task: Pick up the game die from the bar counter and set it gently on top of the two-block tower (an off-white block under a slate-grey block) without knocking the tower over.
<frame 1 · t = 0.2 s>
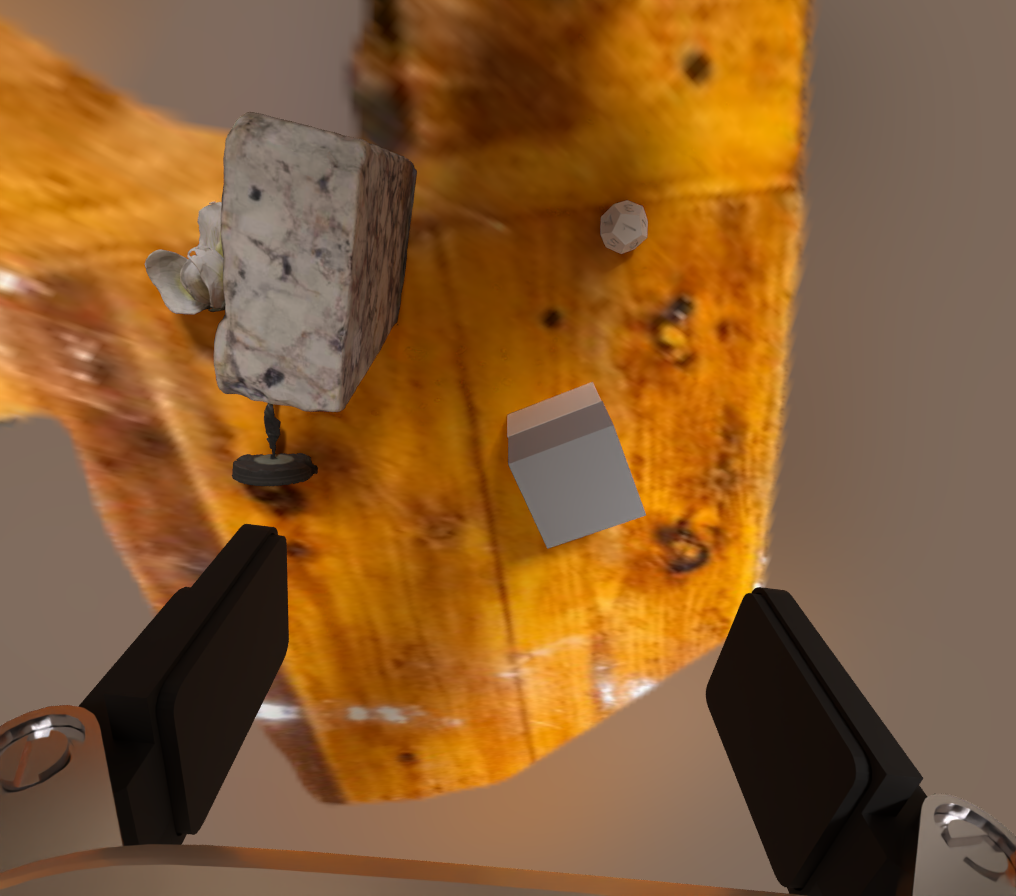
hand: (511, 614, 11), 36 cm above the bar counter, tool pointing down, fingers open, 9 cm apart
stone block: (377, 244, 42), on the bar counter
upper block: (571, 460, 45), point 5 cm above the bar counter, touching lower block
game die: (619, 226, 42), on the bar counter
lower block: (564, 436, 49), on the bar counter, touching upper block
artificial flower: (258, 341, 46), on the bar counter
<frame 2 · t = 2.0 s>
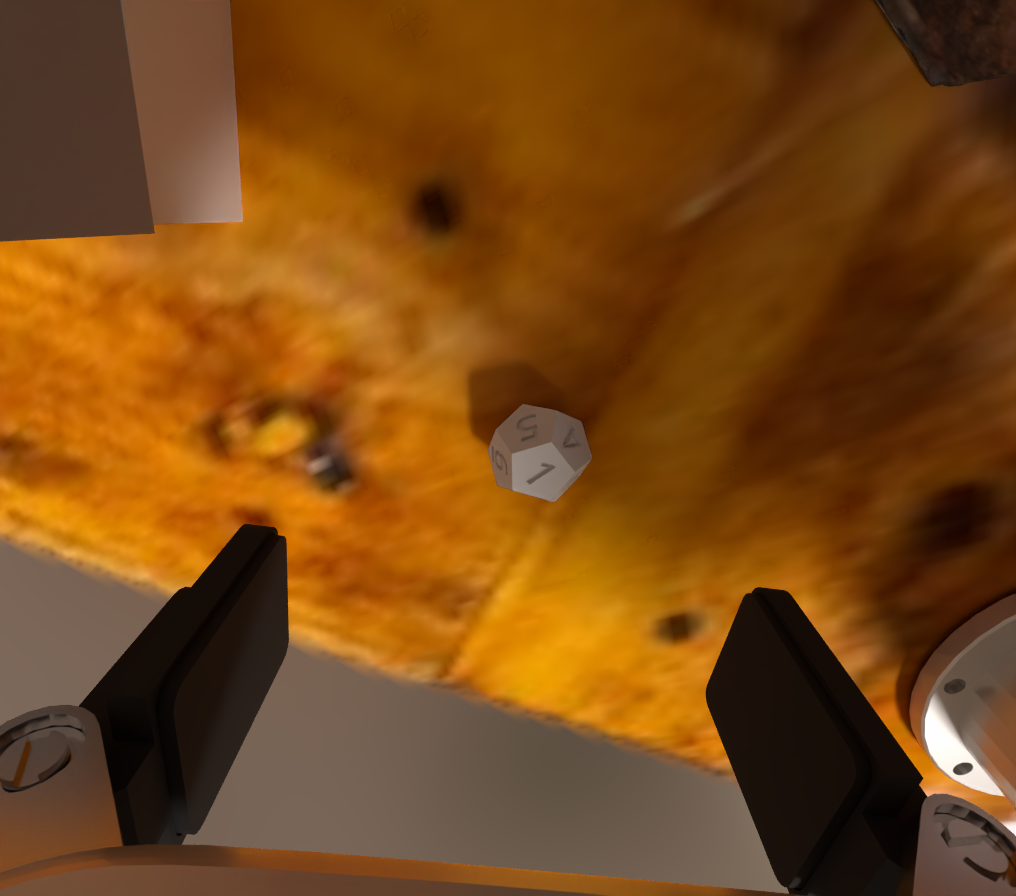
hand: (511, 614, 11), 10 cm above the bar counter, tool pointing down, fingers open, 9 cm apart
game die: (538, 435, 21), on the bar counter
lower block: (105, 60, 16), on the bar counter, touching upper block
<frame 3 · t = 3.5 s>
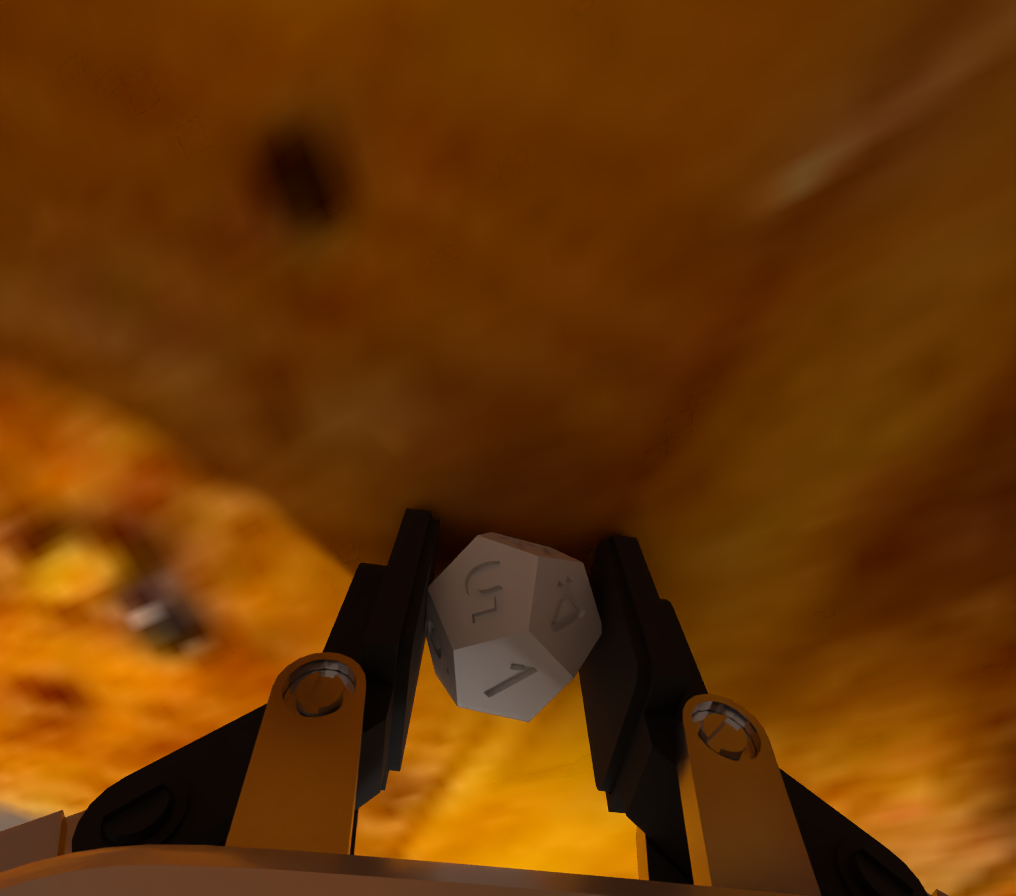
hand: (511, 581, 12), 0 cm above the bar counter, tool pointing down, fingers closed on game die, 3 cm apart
game die: (508, 567, 12), on the bar counter, touching gripper
when the fingers open (11 cm above the bar counter, at t = 9.5 s): game die moves 1 cm, resting on upper block.
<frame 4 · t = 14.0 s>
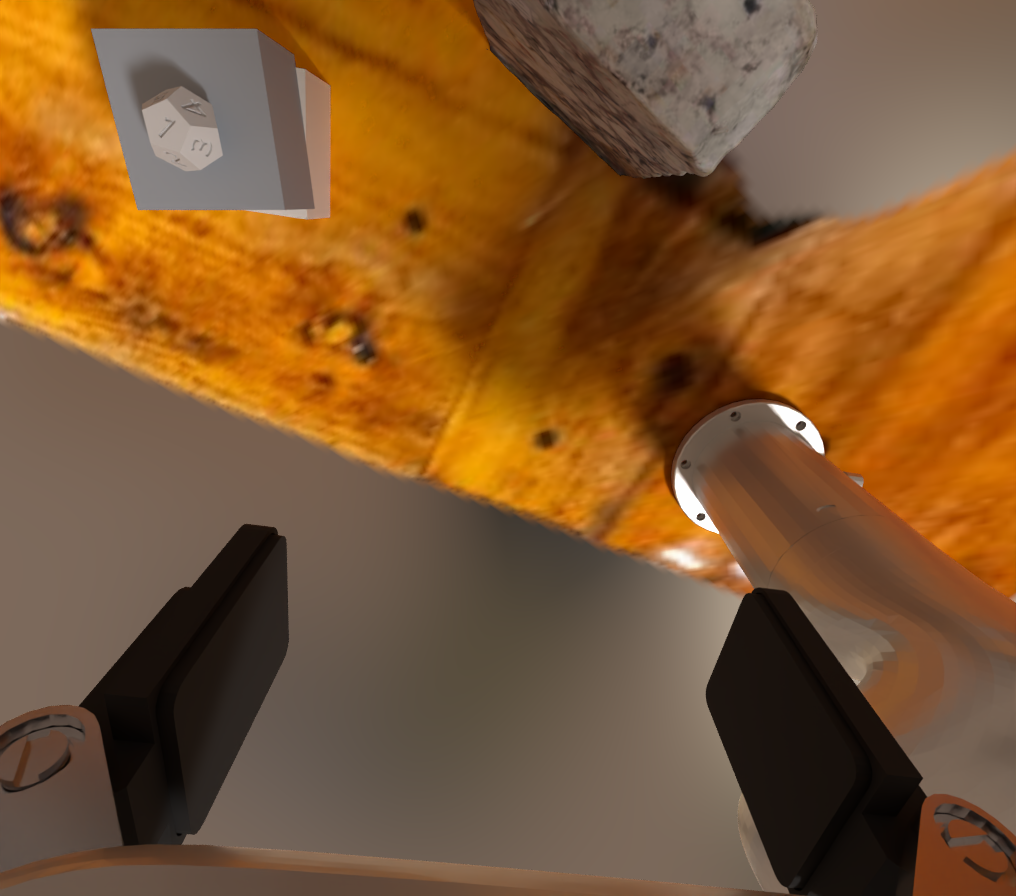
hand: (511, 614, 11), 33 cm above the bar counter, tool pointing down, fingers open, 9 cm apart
stone block: (580, 83, 35), on the bar counter
upper block: (238, 135, 32), point 5 cm above the bar counter, touching game die, lower block
game die: (201, 134, 28), point 10 cm above the bar counter, touching upper block
lower block: (271, 145, 37), on the bar counter, touching upper block
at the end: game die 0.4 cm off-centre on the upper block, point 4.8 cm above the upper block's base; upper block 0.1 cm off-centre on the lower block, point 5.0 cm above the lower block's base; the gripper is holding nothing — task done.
